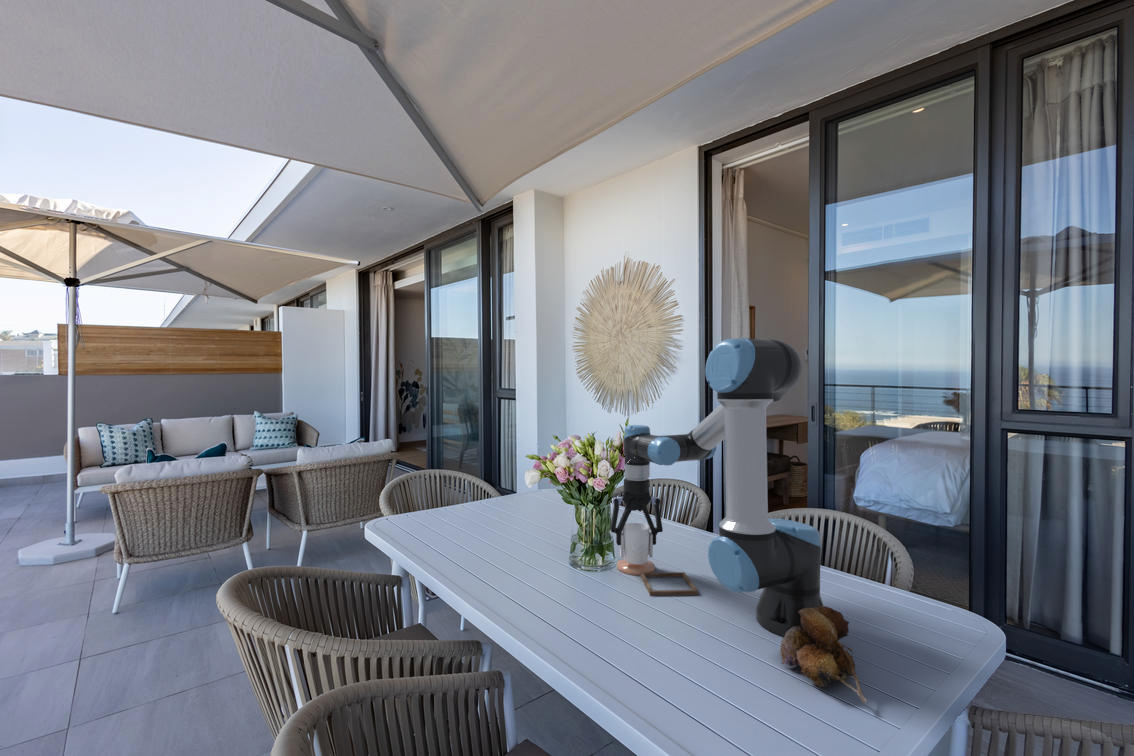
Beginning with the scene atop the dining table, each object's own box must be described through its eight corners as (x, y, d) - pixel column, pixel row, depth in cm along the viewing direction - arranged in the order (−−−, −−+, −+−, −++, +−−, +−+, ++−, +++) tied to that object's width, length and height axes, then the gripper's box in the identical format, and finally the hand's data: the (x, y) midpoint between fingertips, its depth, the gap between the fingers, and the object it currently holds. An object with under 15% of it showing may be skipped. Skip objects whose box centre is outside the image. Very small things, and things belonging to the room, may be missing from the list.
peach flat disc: (658, 575, 145) (658, 571, 145) (620, 575, 144) (620, 572, 144) (650, 561, 156) (650, 557, 156) (614, 561, 155) (614, 558, 155)
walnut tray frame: (698, 594, 132) (698, 591, 132) (650, 595, 131) (650, 591, 131) (684, 575, 144) (684, 572, 144) (640, 576, 144) (640, 572, 144)
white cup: (648, 556, 153) (648, 523, 153) (650, 565, 146) (650, 530, 146) (622, 555, 154) (622, 522, 154) (622, 565, 146) (622, 530, 146)
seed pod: (880, 631, 100) (802, 591, 108) (886, 651, 86) (796, 603, 94) (855, 694, 100) (778, 649, 107) (857, 724, 86) (769, 670, 94)
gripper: (668, 475, 154) (667, 551, 154) (600, 475, 153) (599, 551, 153) (674, 480, 147) (674, 560, 147) (603, 480, 145) (602, 560, 146)
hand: (636, 555), depth 150 cm, fingers open, 8 cm apart
